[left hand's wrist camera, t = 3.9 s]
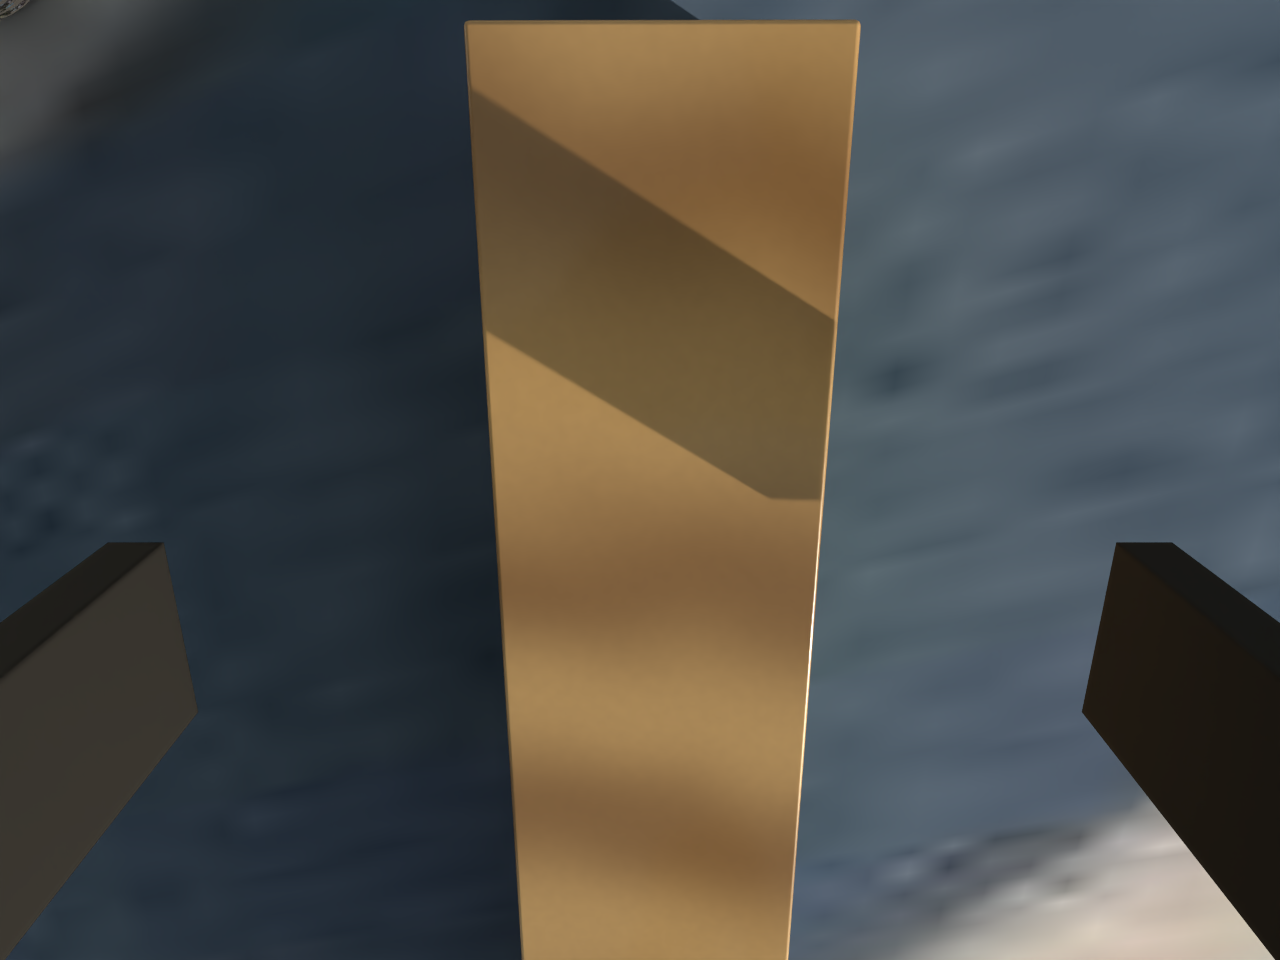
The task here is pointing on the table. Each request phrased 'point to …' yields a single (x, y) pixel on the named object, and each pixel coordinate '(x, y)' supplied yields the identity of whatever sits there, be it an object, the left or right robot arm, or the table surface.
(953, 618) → the table surface
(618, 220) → the bar
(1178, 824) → the left robot arm
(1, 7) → the light bulb
